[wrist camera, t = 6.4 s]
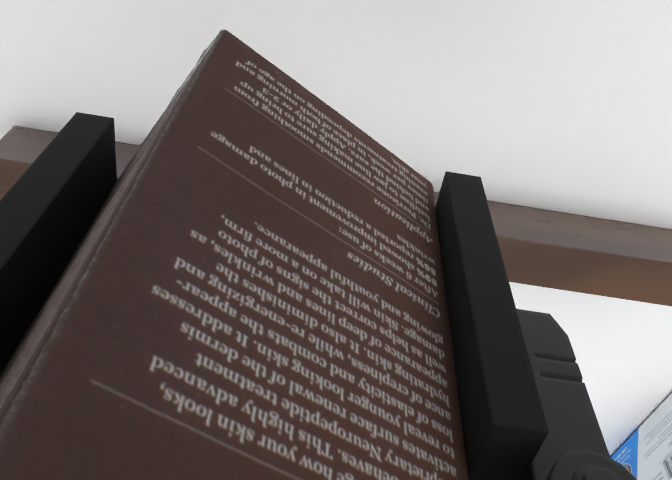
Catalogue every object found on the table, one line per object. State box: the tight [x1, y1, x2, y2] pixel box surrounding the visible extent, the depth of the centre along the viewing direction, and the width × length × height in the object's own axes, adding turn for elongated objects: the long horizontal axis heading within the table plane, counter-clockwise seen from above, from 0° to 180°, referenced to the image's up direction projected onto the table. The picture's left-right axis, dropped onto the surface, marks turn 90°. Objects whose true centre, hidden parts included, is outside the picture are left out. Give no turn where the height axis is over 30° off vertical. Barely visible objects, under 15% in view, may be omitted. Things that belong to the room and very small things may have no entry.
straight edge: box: [0, 126, 672, 306], centre depth 31 cm, size 2×33×3 cm, turn 81°
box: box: [0, 30, 469, 480], centre depth 10 cm, size 6×4×12 cm
